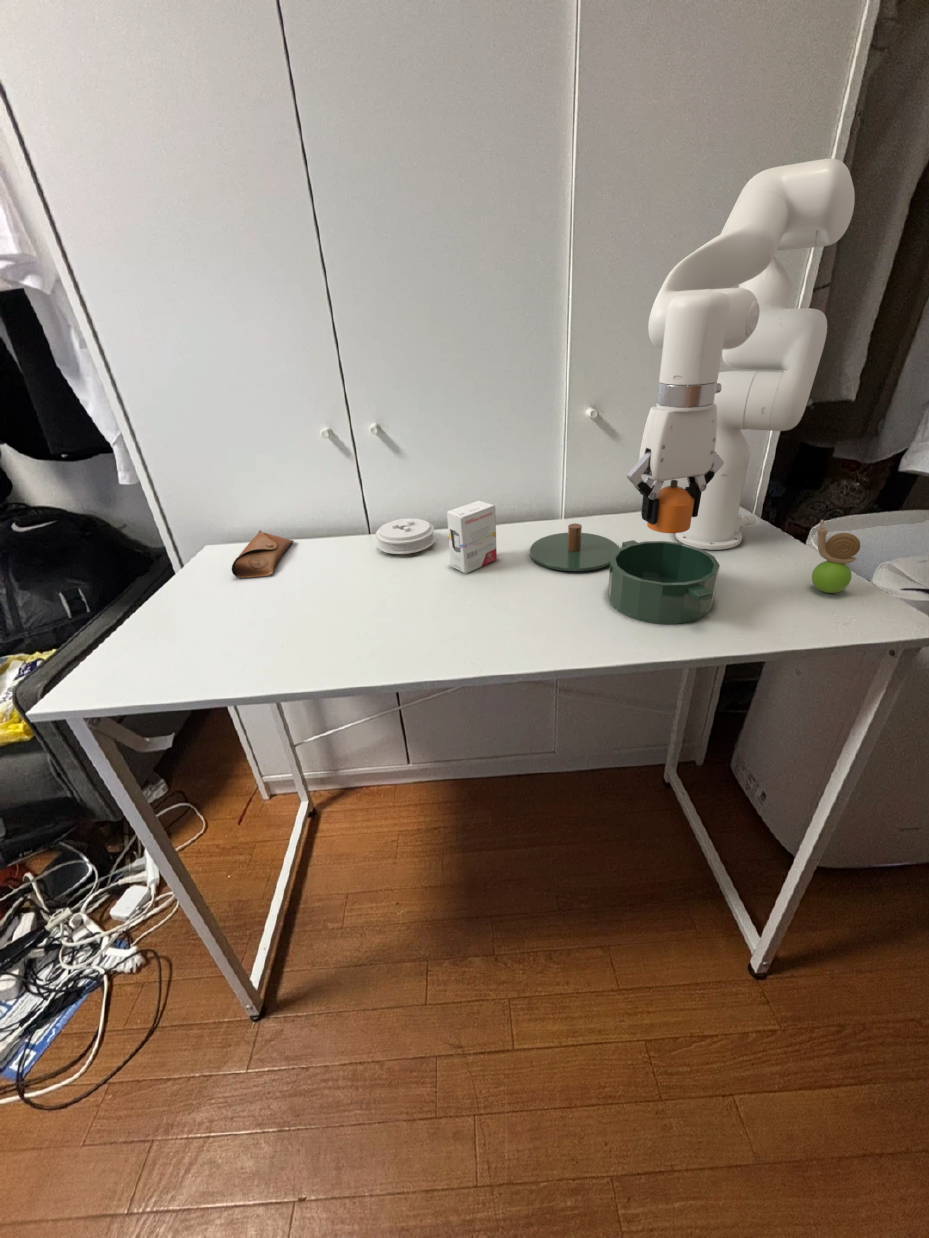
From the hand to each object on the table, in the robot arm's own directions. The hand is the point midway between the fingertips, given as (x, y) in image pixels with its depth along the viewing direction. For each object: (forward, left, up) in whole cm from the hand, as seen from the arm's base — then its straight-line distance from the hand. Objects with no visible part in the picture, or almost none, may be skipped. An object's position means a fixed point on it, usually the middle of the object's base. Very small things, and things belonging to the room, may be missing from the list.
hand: (669, 517), depth 85 cm
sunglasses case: (+66, -47, -15) cm, 82 cm away
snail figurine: (-26, +8, -15) cm, 31 cm away
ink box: (+25, -26, -15) cm, 39 cm away
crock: (0, 0, -15) cm, 15 cm away
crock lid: (+5, -22, -14) cm, 27 cm away
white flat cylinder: (+36, -41, -15) cm, 56 cm away
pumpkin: (0, 0, -1) cm, 1 cm away
